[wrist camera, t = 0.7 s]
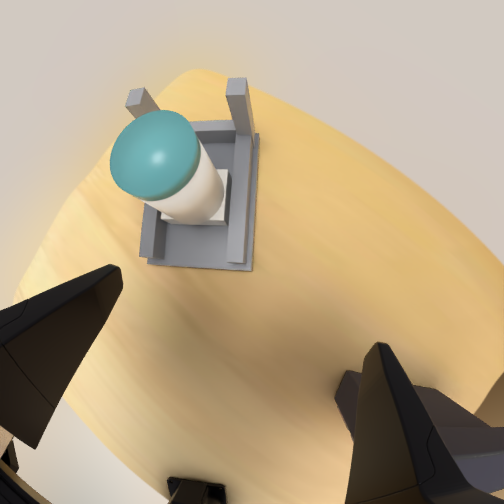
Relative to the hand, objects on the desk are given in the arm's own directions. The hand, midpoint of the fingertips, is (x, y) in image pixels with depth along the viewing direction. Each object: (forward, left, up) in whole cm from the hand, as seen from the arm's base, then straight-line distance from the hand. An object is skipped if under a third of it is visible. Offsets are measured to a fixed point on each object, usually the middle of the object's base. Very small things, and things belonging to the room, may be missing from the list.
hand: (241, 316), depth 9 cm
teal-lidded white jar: (+8, +5, -14) cm, 16 cm away
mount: (+8, +5, -15) cm, 17 cm away
